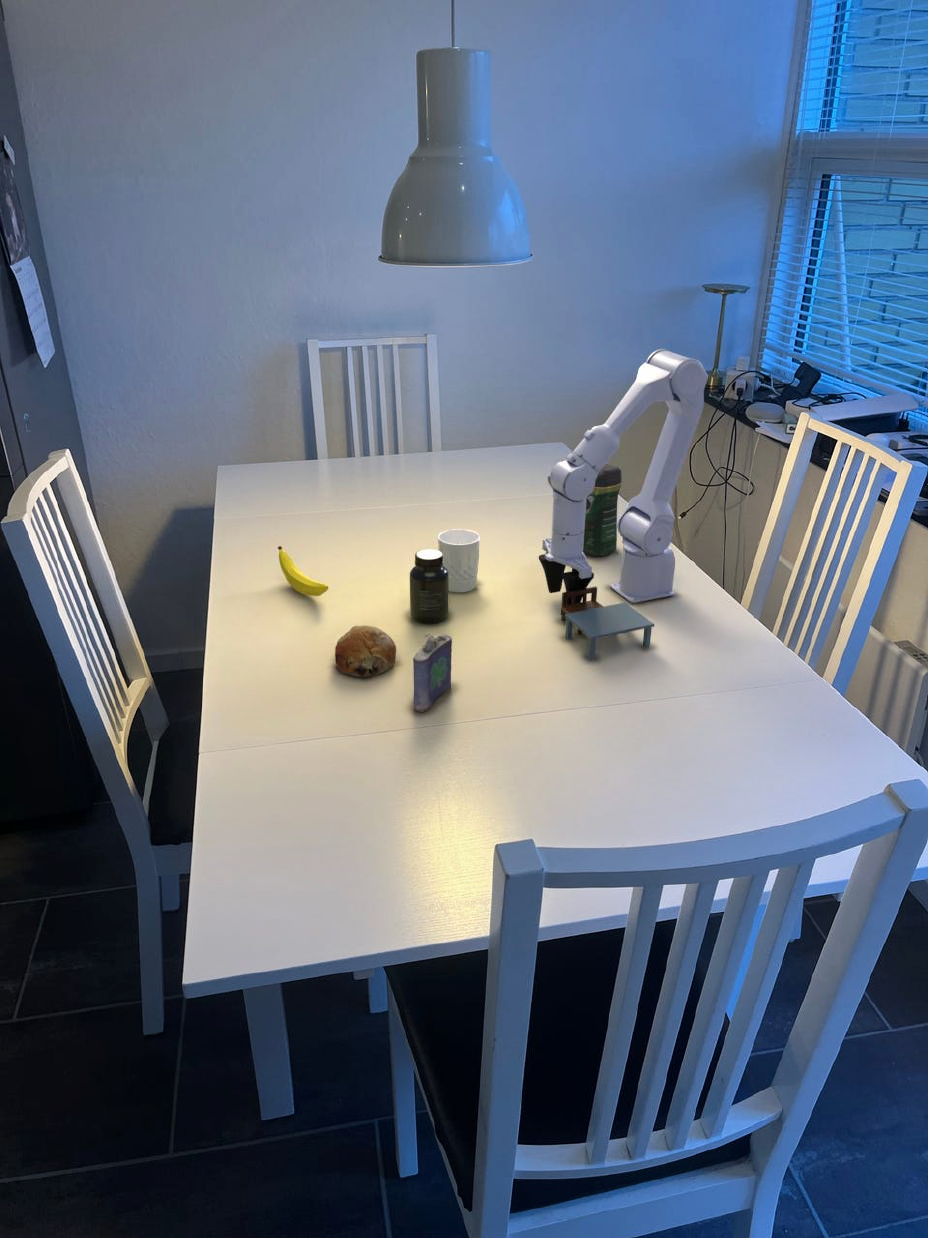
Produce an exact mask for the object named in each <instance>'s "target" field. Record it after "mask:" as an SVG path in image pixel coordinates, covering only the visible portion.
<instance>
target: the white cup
mask: <svg viewBox="0 0 928 1238" xmlns="http://www.w3.org/2000/svg"><path fill="white" fill-rule="evenodd" d="M437 543H438V544H437V546H438V547H437V550H438V551H441V552H442V554H443V566H444V567H445V568H446V569H447V571H448V573H449V592H451V593H466V592H471V591H472V590H475V588H476V586H477V584H478V583H477V582H478V573H479V562H480V548H481V535H480V534H479V533H478V532H476V531H474V530H471V529H466V528H465V529H463V528H454V529H453V528H452V529H447V530H444V531H442V532H439V534H438V535H437Z"/></svg>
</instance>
